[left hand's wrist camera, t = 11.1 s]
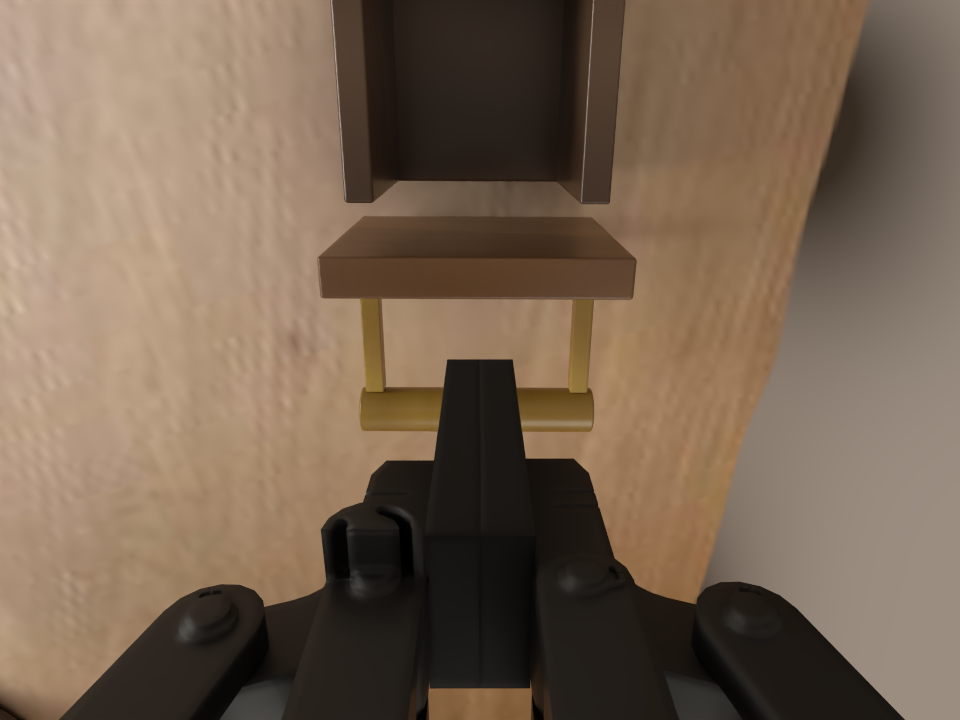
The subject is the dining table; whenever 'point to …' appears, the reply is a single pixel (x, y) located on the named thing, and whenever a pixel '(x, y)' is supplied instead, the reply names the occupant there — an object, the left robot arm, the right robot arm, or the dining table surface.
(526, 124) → the drawer
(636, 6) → the dining table surface
